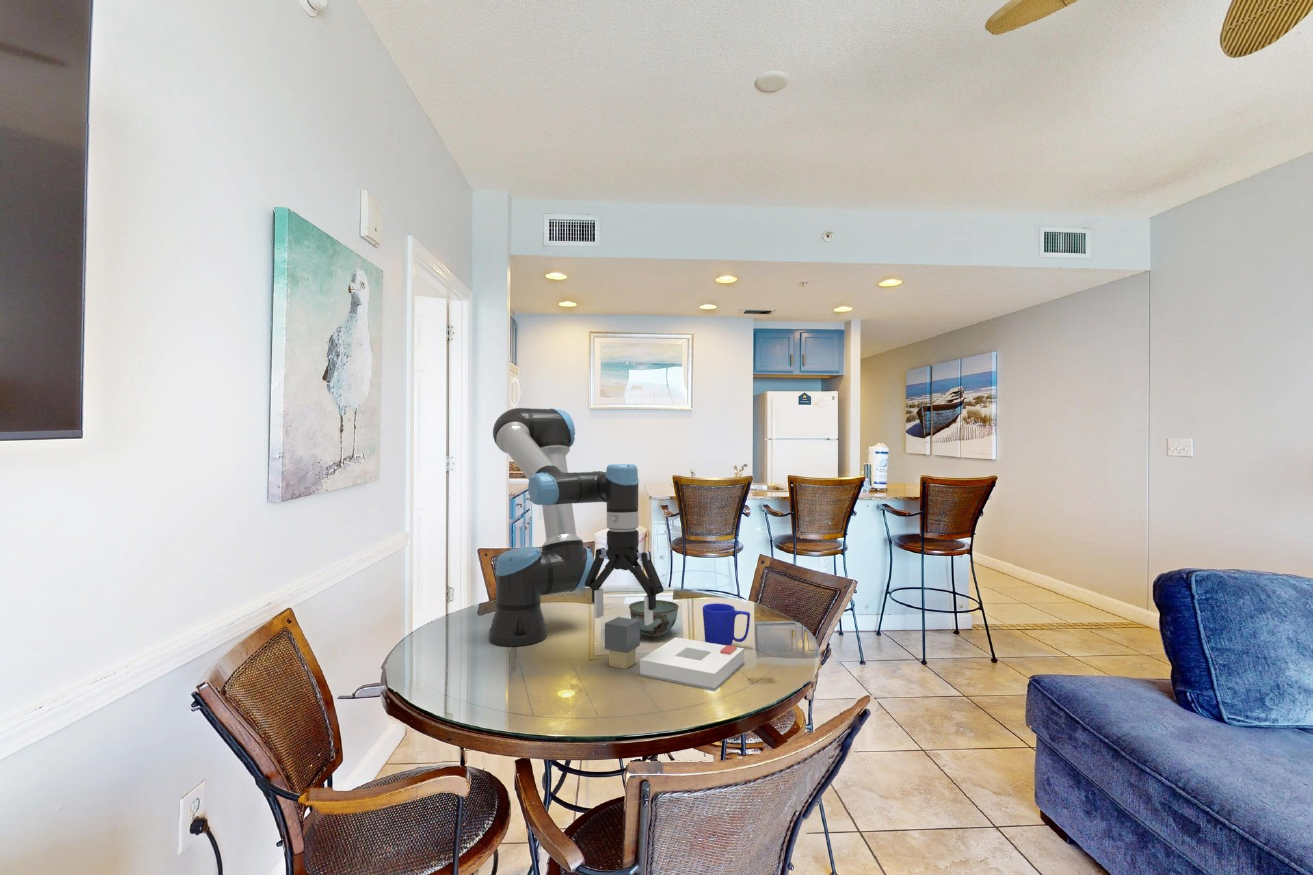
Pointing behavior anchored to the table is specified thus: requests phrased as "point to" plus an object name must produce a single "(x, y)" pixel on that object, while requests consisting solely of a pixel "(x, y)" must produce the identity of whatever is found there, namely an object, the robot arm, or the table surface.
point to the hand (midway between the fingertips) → (623, 620)
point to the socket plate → (692, 663)
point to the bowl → (655, 618)
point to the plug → (622, 641)
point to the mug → (721, 623)
